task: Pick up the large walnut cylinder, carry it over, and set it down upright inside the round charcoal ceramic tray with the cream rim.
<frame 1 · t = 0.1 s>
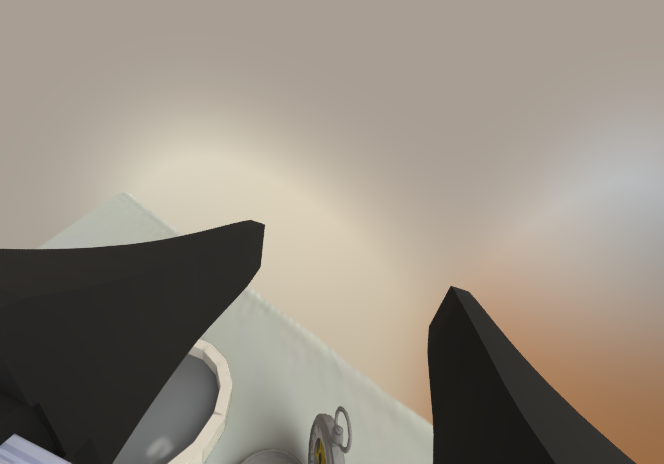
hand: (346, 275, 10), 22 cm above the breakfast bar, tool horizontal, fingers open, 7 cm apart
round tray: (143, 412, 24), on the breakfast bar
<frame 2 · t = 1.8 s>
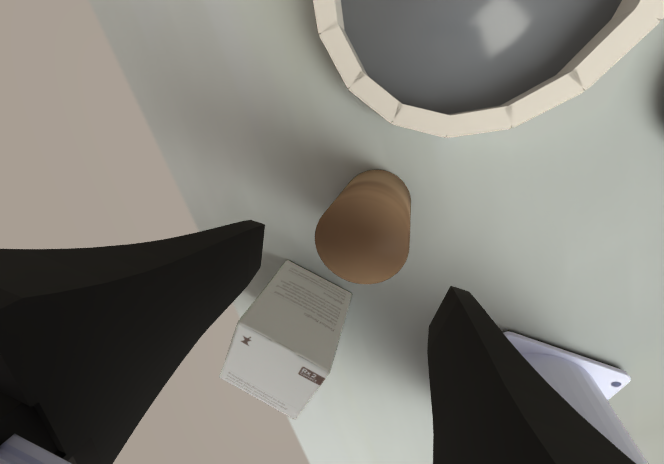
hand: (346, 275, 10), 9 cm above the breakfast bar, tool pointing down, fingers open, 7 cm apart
skincare box: (309, 299, 23), on the breakfast bar
walnut cylinder: (375, 203, 18), on the breakfast bar
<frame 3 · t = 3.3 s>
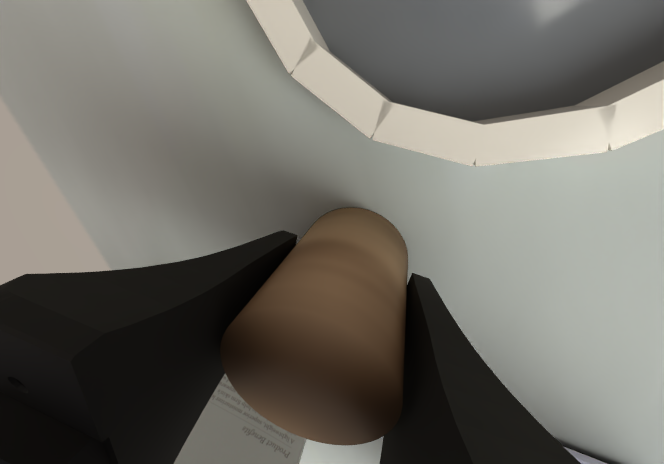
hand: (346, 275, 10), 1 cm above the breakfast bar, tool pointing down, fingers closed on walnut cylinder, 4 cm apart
skincare box: (269, 371, 17), on the breakfast bar
walnut cylinder: (354, 256, 12), on the breakfast bar, touching gripper
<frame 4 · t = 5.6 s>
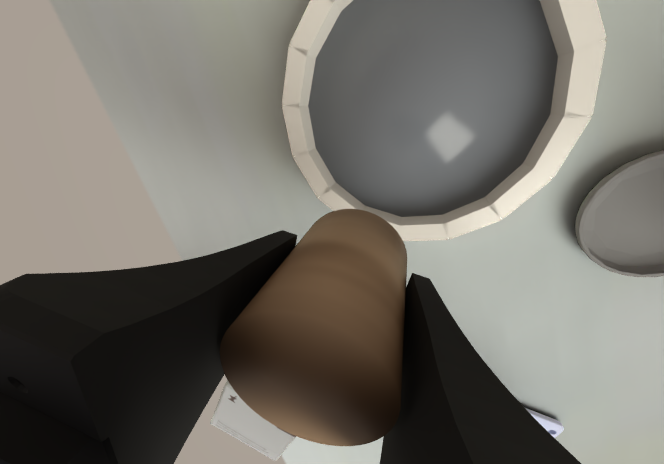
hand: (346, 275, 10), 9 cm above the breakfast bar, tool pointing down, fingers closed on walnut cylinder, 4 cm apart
round tray: (417, 109, 15), on the breakfast bar
skincare box: (292, 345, 26), on the breakfast bar
walnut cylinder: (353, 257, 12), point 7 cm above the breakfast bar, touching gripper
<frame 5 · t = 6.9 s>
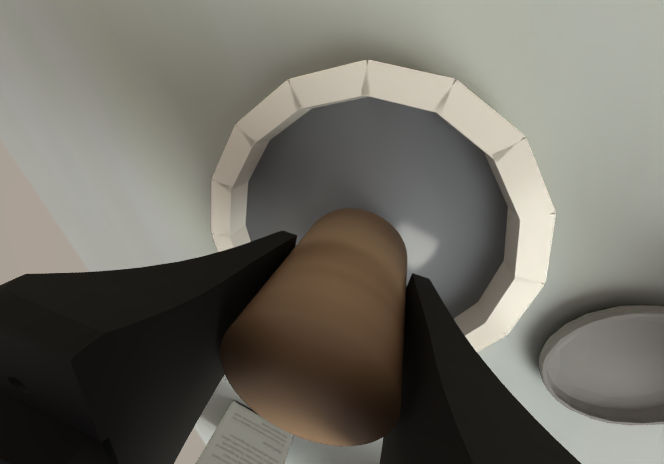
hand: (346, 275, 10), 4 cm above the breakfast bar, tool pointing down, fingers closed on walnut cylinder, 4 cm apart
round tray: (362, 235, 13), on the breakfast bar
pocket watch: (648, 355, 12), on the breakfast bar
skincare box: (257, 428, 24), on the breakfast bar
walnut cylinder: (353, 257, 12), point 2 cm above the breakfast bar, touching gripper
when the fingers open (4 cm above the breakfast bar, at t = 7.7 s): walnut cylinder drops 1 cm, resting on round tray.
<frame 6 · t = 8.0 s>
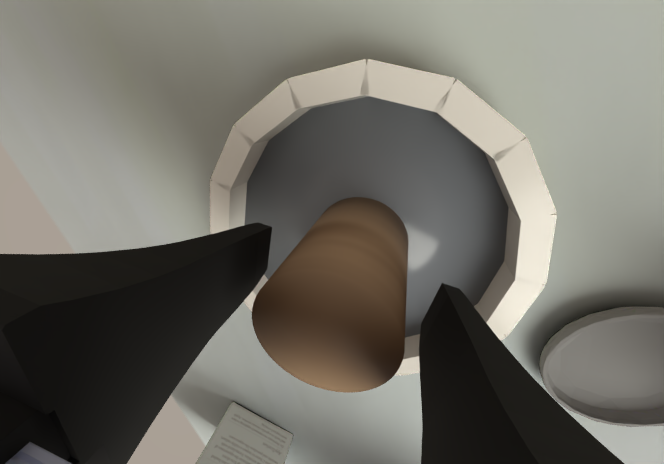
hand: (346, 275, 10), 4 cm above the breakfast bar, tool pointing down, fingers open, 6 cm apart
round tray: (362, 235, 13), on the breakfast bar
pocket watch: (650, 356, 12), on the breakfast bar
skincare box: (256, 429, 24), on the breakfast bar
walnut cylinder: (360, 241, 13), point 1 cm above the breakfast bar, touching round tray
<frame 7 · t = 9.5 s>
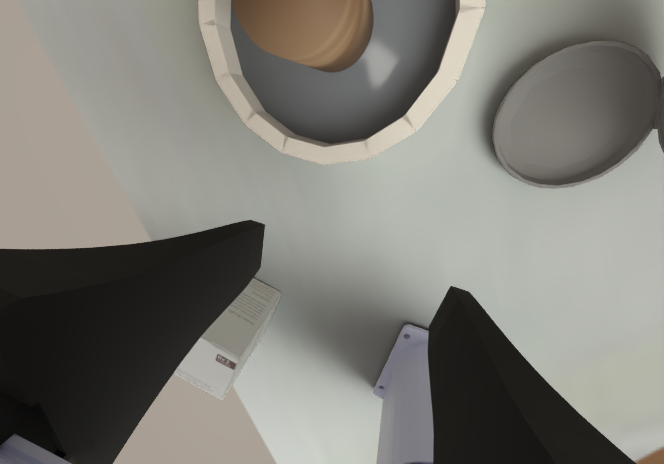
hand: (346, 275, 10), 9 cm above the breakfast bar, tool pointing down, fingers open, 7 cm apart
round tray: (334, 26, 15), on the breakfast bar
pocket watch: (587, 118, 14), on the breakfast bar
skincare box: (248, 297, 26), on the breakfast bar
walnut cylinder: (332, 24, 14), point 1 cm above the breakfast bar, touching round tray
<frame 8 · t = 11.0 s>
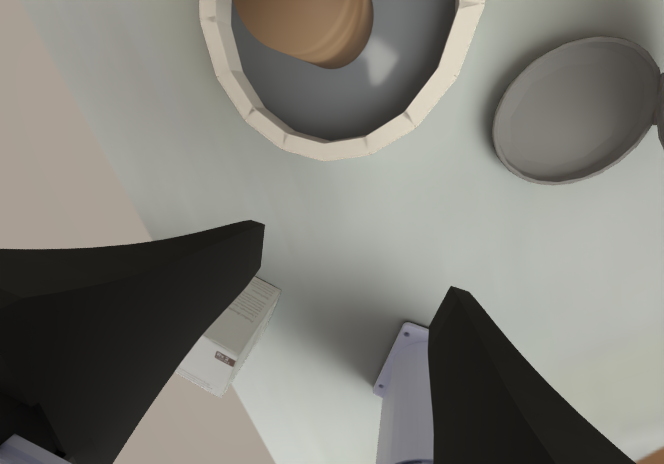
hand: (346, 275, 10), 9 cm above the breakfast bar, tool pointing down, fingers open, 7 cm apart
round tray: (335, 23, 15), on the breakfast bar
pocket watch: (587, 114, 14), on the breakfast bar
skincare box: (247, 295, 26), on the breakfast bar
walnut cylinder: (332, 21, 14), point 1 cm above the breakfast bar, touching round tray
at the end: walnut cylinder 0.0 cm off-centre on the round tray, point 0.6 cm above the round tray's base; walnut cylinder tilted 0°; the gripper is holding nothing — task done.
